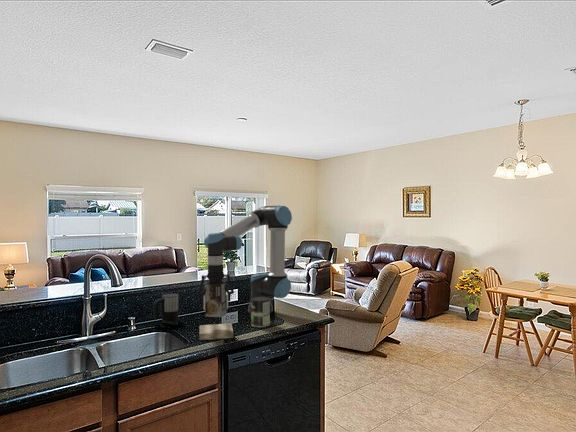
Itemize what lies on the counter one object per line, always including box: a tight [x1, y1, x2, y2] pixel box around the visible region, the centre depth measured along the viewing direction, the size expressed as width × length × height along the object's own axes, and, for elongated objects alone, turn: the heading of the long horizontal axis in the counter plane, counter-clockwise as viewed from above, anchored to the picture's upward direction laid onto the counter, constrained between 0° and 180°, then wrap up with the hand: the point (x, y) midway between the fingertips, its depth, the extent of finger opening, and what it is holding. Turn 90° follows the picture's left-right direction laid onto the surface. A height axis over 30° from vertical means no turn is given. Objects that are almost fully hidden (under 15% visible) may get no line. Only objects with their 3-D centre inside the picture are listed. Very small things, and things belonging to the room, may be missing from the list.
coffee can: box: [250, 297, 271, 328], centre depth 199 cm, size 10×10×14 cm
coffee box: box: [204, 281, 228, 318], centre depth 183 cm, size 9×6×16 cm
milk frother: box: [153, 293, 180, 327], centre depth 203 cm, size 14×16×15 cm
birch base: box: [198, 322, 234, 341], centre depth 183 cm, size 16×14×3 cm
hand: (215, 308), depth 183 cm, fingers closed on coffee box, 10 cm apart
